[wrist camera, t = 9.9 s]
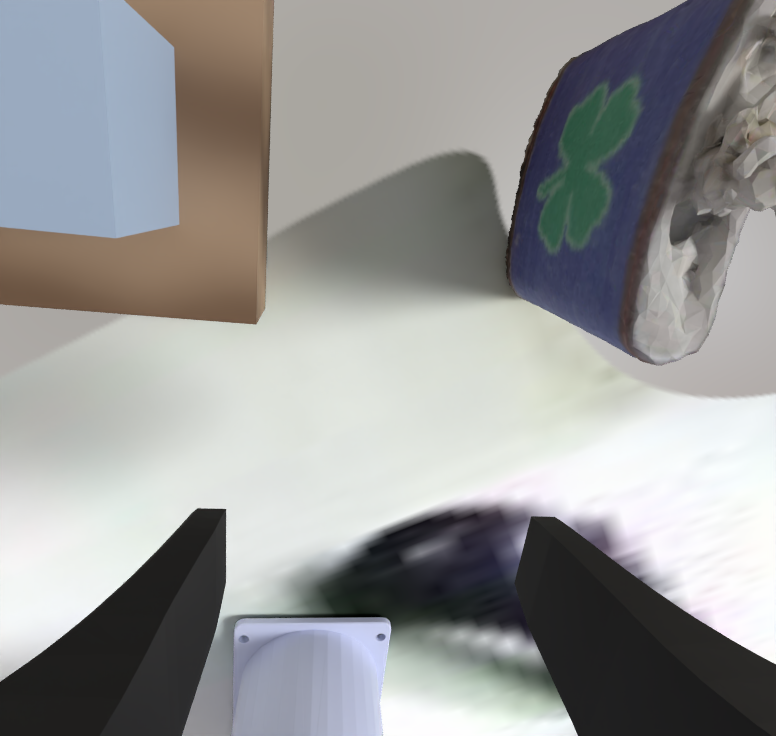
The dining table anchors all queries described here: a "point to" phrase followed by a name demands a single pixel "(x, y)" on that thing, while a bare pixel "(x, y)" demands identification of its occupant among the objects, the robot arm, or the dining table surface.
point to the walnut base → (180, 188)
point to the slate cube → (86, 119)
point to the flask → (649, 176)
